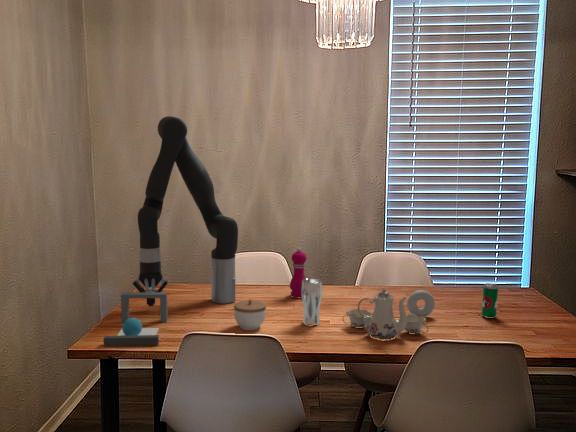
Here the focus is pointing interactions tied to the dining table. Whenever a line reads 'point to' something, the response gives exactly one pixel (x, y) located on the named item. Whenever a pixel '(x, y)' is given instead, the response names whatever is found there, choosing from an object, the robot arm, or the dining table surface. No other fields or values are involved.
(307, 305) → the beer glass
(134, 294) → the bridge
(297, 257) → the pepper mill
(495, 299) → the soda can
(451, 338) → the dining table surface
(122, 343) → the wall
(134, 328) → the ball
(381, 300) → the chinaware
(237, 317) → the lidded jar
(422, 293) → the donut
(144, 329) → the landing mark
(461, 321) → the dining table surface
